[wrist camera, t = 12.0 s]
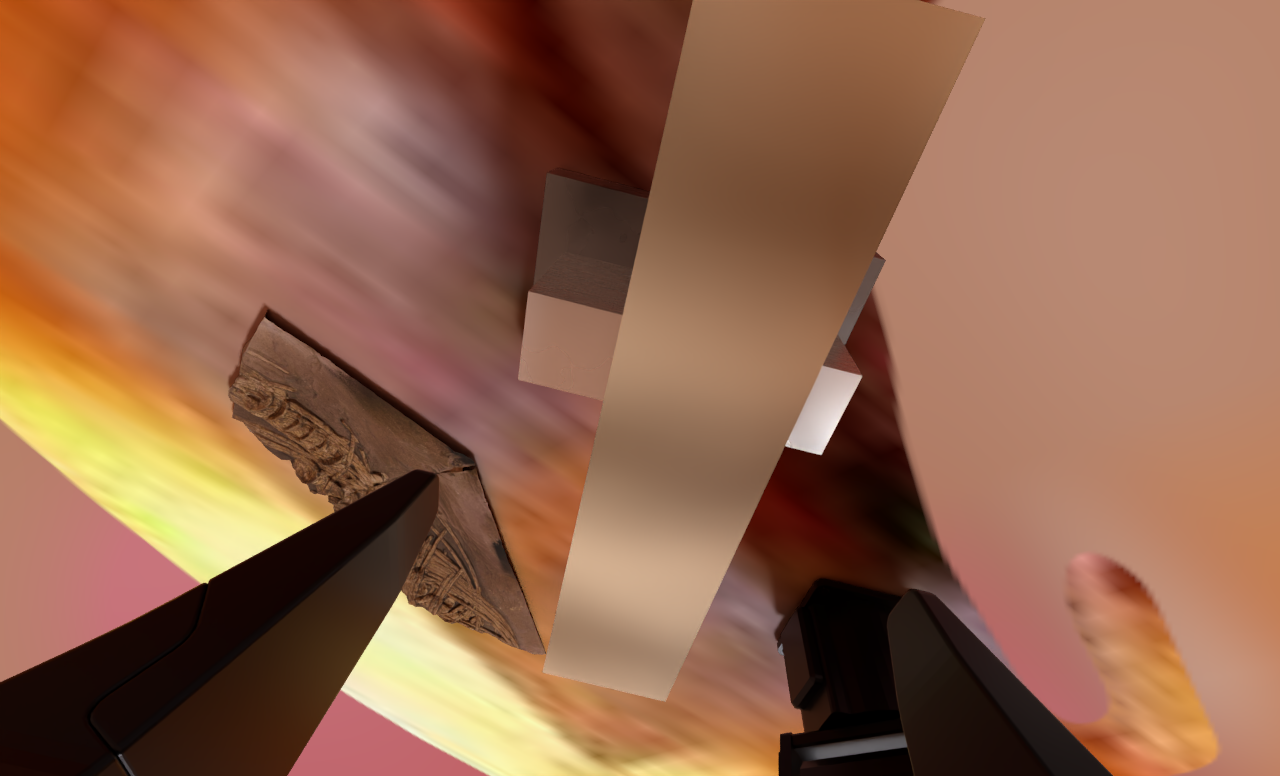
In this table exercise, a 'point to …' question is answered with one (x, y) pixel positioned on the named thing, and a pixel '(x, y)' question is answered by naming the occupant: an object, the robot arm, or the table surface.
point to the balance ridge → (596, 294)
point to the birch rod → (739, 300)
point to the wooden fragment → (382, 477)
